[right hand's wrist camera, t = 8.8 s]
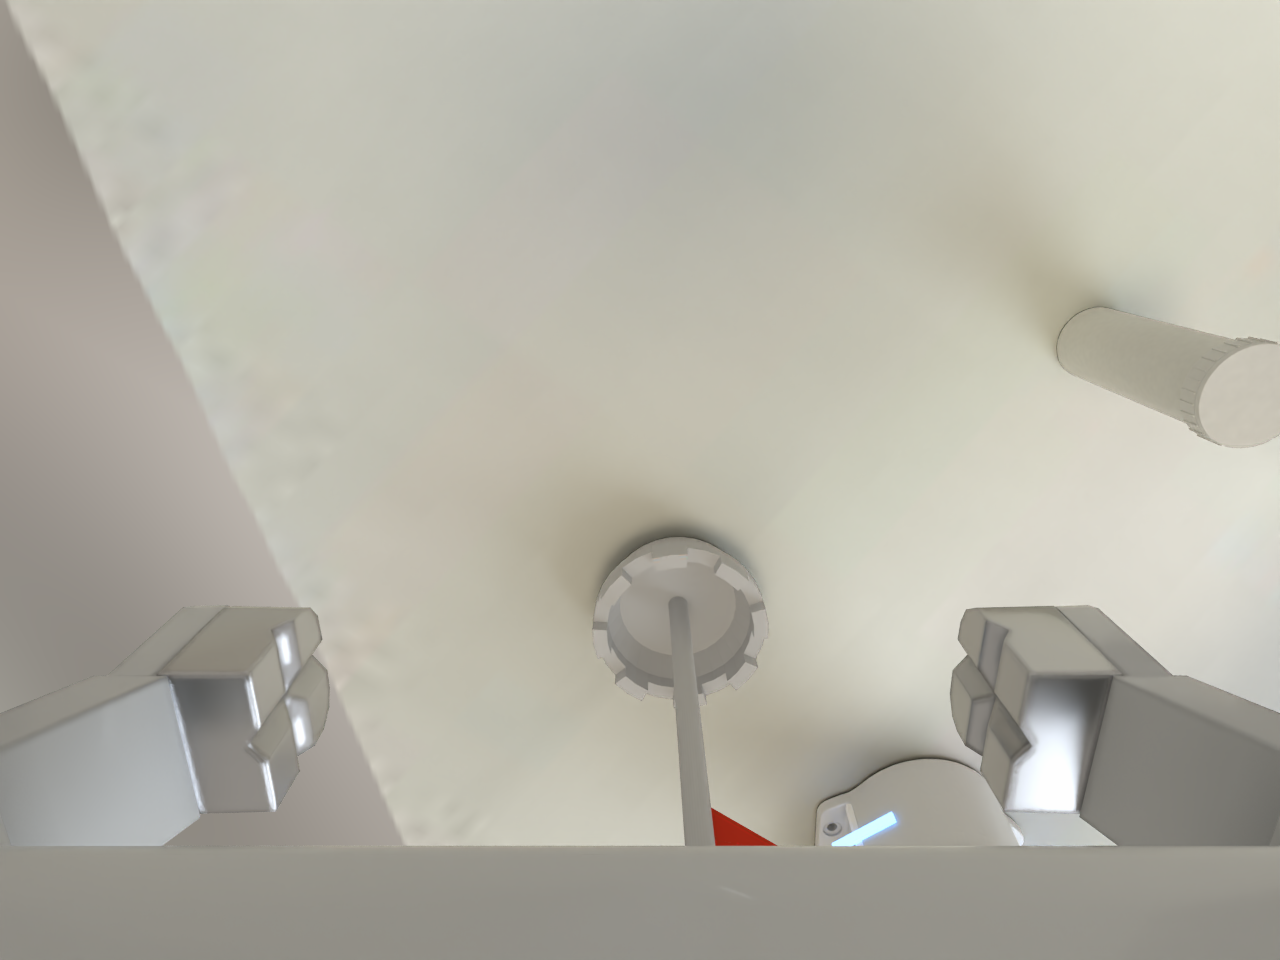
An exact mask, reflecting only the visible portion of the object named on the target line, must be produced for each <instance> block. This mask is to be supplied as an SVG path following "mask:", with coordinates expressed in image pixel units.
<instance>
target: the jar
mask: <svg viewBox="0 0 1280 960" xmlns="http://www.w3.org/2000/svg"><path fill="white" fill-rule="evenodd" d="M1231 340H1233V339H1229V338H1225V337H1221V336H1217V335H1213V334H1209V333H1205V332H1201V331H1197V330H1193V329H1189V328H1185V327H1181V326H1177V325H1173V324H1169V323H1165V322H1161V321H1157V320H1153V319H1149V318H1145V317H1141V316H1137V315H1133V314H1129V313H1125V312H1121V311H1118V310H1114V309H1110V308H1105V307H1095V308H1090V309H1087V310H1084V311H1082V312H1080V313H1079V314H1077V315H1075V316H1074V317H1073V318H1072V319H1071V320H1070V321H1069V322H1068V323H1067V324H1066V325H1065V326H1064V328H1063V330H1062V331H1061V333H1060V336H1059V339H1058V343H1057V355H1058V359H1059V362H1060V363H1061V365H1062V367H1063V368H1064V369H1065V370H1066V371H1067V372H1069V373H1070V374H1072V375H1074V376H1076V377H1079V378H1081V379H1083V380H1086V381H1088V382H1090V383H1093V384H1095V385H1097V386H1100V387H1102V388H1105V389H1107V390H1109V391H1112V392H1114V393H1116V394H1119V395H1121V396H1123V397H1126V398H1128V399H1130V400H1133V401H1135V402H1137V403H1140V404H1142V405H1144V406H1147V407H1149V408H1151V409H1154V410H1156V411H1158V412H1161V413H1163V414H1166V415H1168V416H1170V417H1173V418H1175V419H1177V420H1180V421H1182V422H1184V421H1183V420H1184V418H1183V416H1182V413H1181V412H1180V410H1181V408H1180V401H1179V399H1180V394H1181V388H1182V386H1183V383H1184V381H1185V377H1186V376H1187V375H1188V373H1189V371H1190V370H1191V368H1192V366H1193V365H1194V364H1195V363H1196V362H1197V361H1198V360H1199V359H1200V358H1201V356H1202V355H1204V354H1206V353H1207V352H1208V351H1210V350H1211V349H1212V348H1213V347H1216V346H1218V345H1221V344H1223V343H1224V342H1225V341H1227V342H1228V341H1231ZM1184 423H1185V422H1184Z"/></svg>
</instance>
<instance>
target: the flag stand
mask: <svg viewBox="0 0 1280 960" xmlns="http://www.w3.org/2000/svg"><path fill="white" fill-rule="evenodd" d="M592 630H593V645H594V648H595V651H596V655H597V658H598V659H599V658H603V660H604V662H605V663H606V665H607V666H608V667H609V668H610V669H611V671H612V672H613V673H614V674H615V675H616V677H615V684H616V685H617V686H618V687H620V688H621V689H622V690H624V691H625V692H626V693H627V694H629V695H631V696H633V697H635V698H637V699H639V700H641V701H642V700H643V698H644V696H645V695H646V694H649V695H652V696H655V697H661V698H668V699H673V703H674V708H676V721H677V736H678V750H679V765H680V779H681V794H682V808H683V823H684V837H685V846H777V845H775V844H774V843H772V842H770V841H768V840H767V839H765V838H763V837H761V836H760V835H758V834H756V833H754V832H753V831H751V830H749V829H747V828H746V827H744V826H742V825H740V824H739V823H737V822H735V821H734V820H732V819H730V818H728V817H727V816H725V815H723V814H721V813H720V812H718V811H716V810H714V809H713V808H711V803H710V795H709V786H708V777H707V769H706V760H705V751H704V743H703V734H702V725H701V716H700V708H699V706H702V705H707V702H706V695H708V694H711V693H714V692H716V691H719V690H721V689H723V688H724V687H726V686H728V685H729V684H730V685H731V686H732V687H733V688H734V689H735V690H737V689H738V688H739V687H740V686H742V685H743V684H744V683H745V682H746V681H747V680H748V679H749V678H750V677H751V675H752V674H753V673H754V672H755V670H756V669H757V668H758V666H757V662H756V657H757V655H758V653H759V651H760V649H761V647H762V645H763V641H764V639H768V619H767V614H766V609H765V606H764V603H763V599H762V596H761V593H760V591H759V589H758V586H757V584H756V582H755V580H754V579H753V577H752V576H751V575H750V573H749V572H748V571H747V569H746V568H745V567H744V566H743V565H742V564H740V563H739V562H738V561H737V560H736V559H735V558H734V557H732V556H730V555H729V554H727V553H725V552H723V551H722V550H720V549H718V548H716V547H715V546H713V545H711V544H709V543H707V542H704V541H701V540H698V539H693V538H686V537H669V538H664V539H659V540H655V541H653V542H650V543H648V544H646V545H643V546H642V547H640V548H639V549H637V550H635V551H634V552H632V553H631V554H630V555H629V556H628V557H627V558H626V559H624V560H623V561H622V562H621V563H620V564H619V565H618V566H617V567H616V568H615V569H614V570H613V571H612V572H611V573H610V574H609V576H608V577H607V579H606V580H605V582H604V583H603V585H602V587H601V589H600V592H599V594H598V597H597V599H596V605H595V612H594V620H593V629H592Z"/></svg>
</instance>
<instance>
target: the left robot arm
mask: <svg viewBox="0 0 1280 960" xmlns="http://www.w3.org/2000/svg"><path fill="white" fill-rule="evenodd" d="M831 823H834V824H832V825H829V824H831ZM1023 844H1024V837H1023V834H1022V832H1021V830H1020V828H1019V826H1018V825H1017V824H1016V823H1015V822H1014V821H1013V820H1012V819H1011V818H1010V817H1008V816H1007V815H1006V814H1005V813H1004V812H1003V810H1002V808H1001V805H1000V803H999V802H998V800H997V798H996V797H995V795H994V793H993V792H992V790H991V788H990V787H989V785H988V783H987V782H986V780H985V778H984V777H983V776H981V775H980V774H979V773H978V772H976V771H975V770H973V769H971V768H969V767H967V766H965V765H962V764H959V763H956V762H952V761H948V760H941V759H918V760H911V761H906V762H902V763H899V764H895V765H893V766H890V767H888V768H885V769H883V770H881V771H879V772H877V773H876V774H874V775H872V776H871V777H869V778H868V779H867V780H865V781H864V782H863V783H862V784H860V785H859V786H858V787H856V788H855V789H853V790H852V791H850V792H848V793H845V794H842V795H839V796H836V797H833V798H831V799H828V800H826V801H824V802H823V803H821V804H820V805H819V807H818V809H817V816H816V833H815V846H1023Z"/></svg>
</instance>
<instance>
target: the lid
mask: <svg viewBox="0 0 1280 960" xmlns="http://www.w3.org/2000/svg"><path fill="white" fill-rule="evenodd" d="M1179 401H1180V408H1181V410H1180V412H1181V413H1182V416H1183V418H1184V420H1183V421H1184V422H1185V423H1187V425H1188V426H1189V427H1190V428H1189V430H1191V431H1193V432H1195V433H1197V436H1199V437H1201V438H1204V439H1206V440H1208V441H1210V442H1213V443H1216V444H1218V445H1220V446H1222V445H1224V446H1227V447H1232V448H1248V447H1253V446H1257V445H1260V444H1263V443H1265V442H1268V441H1270V440H1272V439H1273V438H1275V437H1277V436H1278V435H1280V345H1279V344H1277V342H1273V341H1269V340H1265V339H1257V338H1253V337H1248V338H1244V339H1241V338H1236V340H1231V341H1228V342H1227V341H1225V342H1224V343H1223V344H1221V345H1218V346H1216V347H1213V348H1212V349H1211V350H1210V351H1208V352H1207V353H1206V354H1204V355H1202V356H1201V358H1200V359H1199V360H1198V361H1197V362H1196V363H1195V364H1194V365H1193V366H1192V368H1191V370H1190V371H1189V373H1188V375H1187V376H1186V377H1185V381H1184V383H1183V386H1182V388H1181V394H1180V399H1179Z"/></svg>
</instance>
